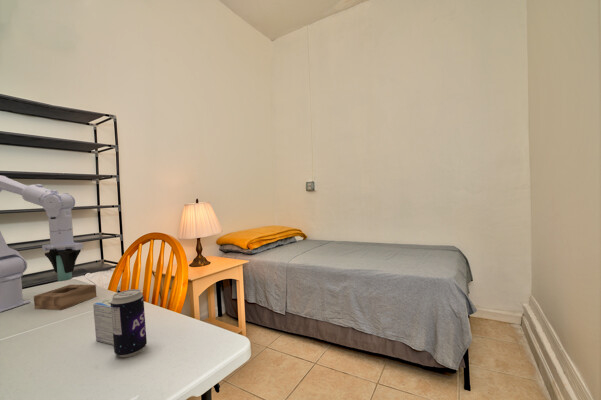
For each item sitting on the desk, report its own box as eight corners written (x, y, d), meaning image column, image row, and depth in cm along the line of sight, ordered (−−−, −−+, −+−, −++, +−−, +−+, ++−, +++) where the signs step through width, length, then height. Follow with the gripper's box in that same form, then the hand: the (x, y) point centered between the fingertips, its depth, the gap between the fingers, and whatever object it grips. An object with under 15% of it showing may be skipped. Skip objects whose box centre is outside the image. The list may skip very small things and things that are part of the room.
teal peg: (55, 281, 89) (53, 256, 89) (66, 278, 92) (64, 254, 92) (63, 281, 88) (61, 256, 88) (74, 278, 92) (73, 253, 91)
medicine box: (137, 337, 63) (134, 299, 63) (117, 347, 59) (114, 307, 59) (115, 332, 66) (112, 296, 66) (95, 341, 62) (92, 303, 62)
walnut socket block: (34, 308, 86) (33, 296, 86) (71, 295, 97) (70, 284, 97) (62, 309, 84) (61, 296, 84) (96, 296, 94) (95, 284, 94)
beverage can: (136, 358, 54) (131, 297, 54) (107, 360, 54) (103, 299, 54) (152, 343, 60) (148, 287, 60) (126, 344, 60) (122, 289, 60)
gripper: (30, 232, 88) (33, 275, 88) (65, 231, 84) (68, 275, 85) (54, 230, 95) (57, 269, 95) (88, 228, 91) (91, 269, 91)
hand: (64, 272), depth 90 cm, fingers closed on teal peg, 3 cm apart
